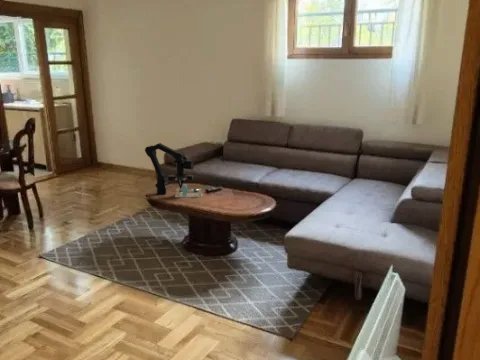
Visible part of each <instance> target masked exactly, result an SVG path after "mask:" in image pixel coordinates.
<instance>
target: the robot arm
mask: <svg viewBox="0 0 480 360" xmlns="http://www.w3.org/2000/svg"><path fill="white" fill-rule="evenodd" d="M157 150H160V151H162V152H164V153H165V154H168V155H169V156H171V157H172V158H174V161H173V163H174V164H176V168H175V169H176V174H175V176H174V174H169V175H168V174H167V173H164V172H163V169H162V166H161V164H160V162H159V160H158V157H157ZM144 151H145V154H146V156H148V157H149V159H150V161H151V163H152V166H153V167H154V170H155V173H156V175H157V176H156V177H157V183H156V184H155V188H156V191H157V192H156V195H157V196H163V195H164V196H165V195H166V194H167V187H166V186H167V184H168V183H169V181H173V180H174V179H175V182H176V183H177V184H178V186H179V188H180V189H182V188H183V184H184V182H185V181H186V180H188V181H193V179H194V175H193V174H187V175H186V173H185V170H190V171H191V170H194V167H195V163H194V161H193V160H188V158H187V157H186V155H185V153H184V152H183V151H180V150H174V149H172V148H171V147H169V146H167V145H165V144H163V143H161V142H158V143H157V144H154V145H148V146H146V147H145V149H144Z"/></svg>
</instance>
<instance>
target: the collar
mask: <svg viewBox="0 0 480 360" xmlns="http://www.w3.org/2000/svg"><path fill="white" fill-rule="evenodd" d="M182 189H183V192H182V193H183V195H187V193H188V192H187V189H188V184H186V183H183V184H182Z"/></svg>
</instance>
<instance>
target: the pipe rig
mask: <svg viewBox="0 0 480 360" xmlns="http://www.w3.org/2000/svg"><path fill="white" fill-rule="evenodd" d="M175 191H176V192H175V196H174V198H203V195H204V194H203V193H202V188H201V187H200V188H199V187H198V188H187V195H183V188H180V187H178V188H176V189H175Z"/></svg>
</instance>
